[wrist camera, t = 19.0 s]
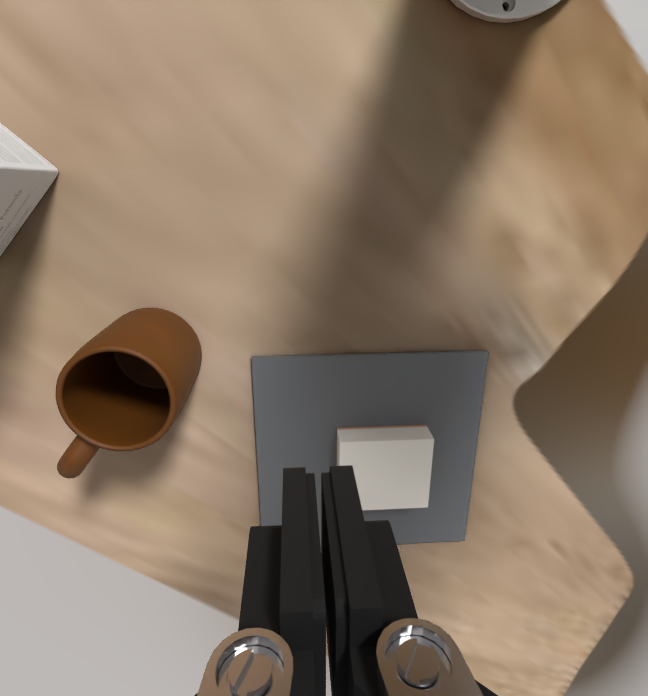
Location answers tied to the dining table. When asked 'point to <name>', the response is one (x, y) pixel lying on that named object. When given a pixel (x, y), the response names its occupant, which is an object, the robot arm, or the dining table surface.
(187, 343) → the mug
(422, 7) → the dining table surface
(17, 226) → the supplement box
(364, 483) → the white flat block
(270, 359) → the mat
